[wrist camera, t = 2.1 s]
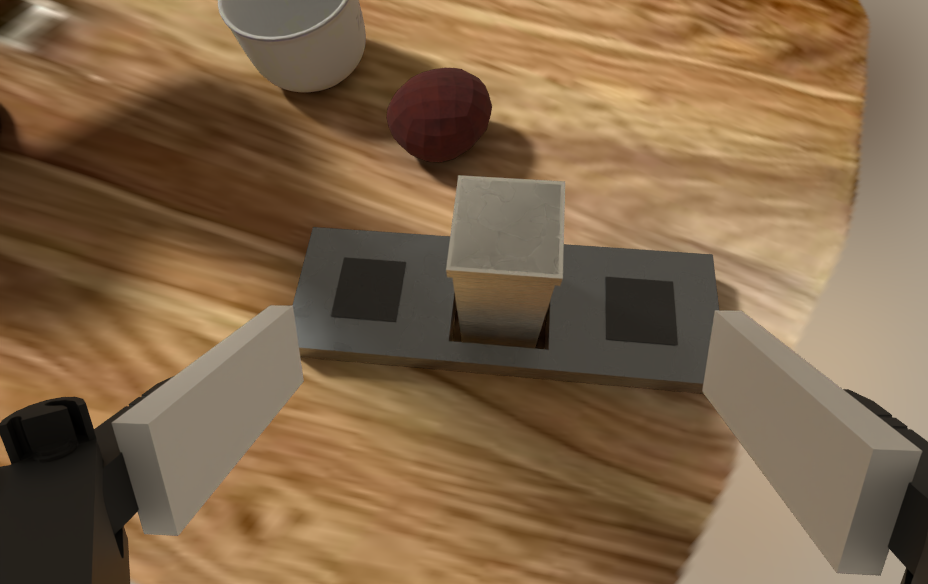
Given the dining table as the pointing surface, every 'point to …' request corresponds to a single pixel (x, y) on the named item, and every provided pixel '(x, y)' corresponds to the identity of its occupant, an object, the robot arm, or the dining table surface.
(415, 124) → the potato
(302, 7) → the teacup
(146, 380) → the dining table surface
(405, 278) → the grey board with recesses
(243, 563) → the dining table surface
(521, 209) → the grey rectangular block
